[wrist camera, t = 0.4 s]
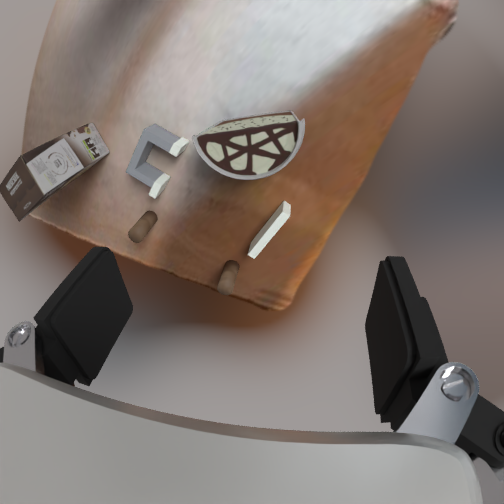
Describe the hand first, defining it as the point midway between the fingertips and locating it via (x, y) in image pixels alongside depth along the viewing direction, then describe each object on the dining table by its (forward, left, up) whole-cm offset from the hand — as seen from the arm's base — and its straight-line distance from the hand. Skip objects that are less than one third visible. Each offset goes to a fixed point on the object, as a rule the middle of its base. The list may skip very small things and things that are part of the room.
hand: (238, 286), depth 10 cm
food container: (-1, -4, -33) cm, 33 cm away
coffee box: (-25, -20, -33) cm, 46 cm away
